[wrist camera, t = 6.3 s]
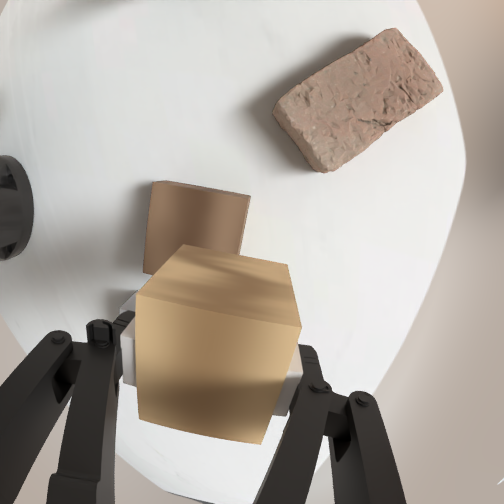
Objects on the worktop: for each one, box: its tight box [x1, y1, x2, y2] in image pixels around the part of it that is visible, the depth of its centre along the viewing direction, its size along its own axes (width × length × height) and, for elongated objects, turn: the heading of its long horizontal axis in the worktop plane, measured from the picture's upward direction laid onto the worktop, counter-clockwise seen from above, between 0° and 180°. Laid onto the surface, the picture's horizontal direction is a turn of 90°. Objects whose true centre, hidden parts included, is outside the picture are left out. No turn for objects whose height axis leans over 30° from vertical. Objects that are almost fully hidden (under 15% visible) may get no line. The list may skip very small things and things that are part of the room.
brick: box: [272, 28, 443, 173], centre depth 24 cm, size 17×8×5 cm, turn 129°
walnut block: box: [143, 181, 251, 275], centre depth 29 cm, size 9×9×4 cm
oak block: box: [135, 244, 302, 445], centre depth 14 cm, size 6×7×7 cm
